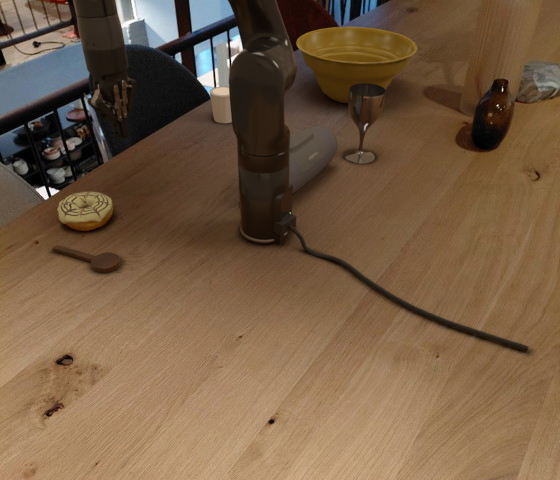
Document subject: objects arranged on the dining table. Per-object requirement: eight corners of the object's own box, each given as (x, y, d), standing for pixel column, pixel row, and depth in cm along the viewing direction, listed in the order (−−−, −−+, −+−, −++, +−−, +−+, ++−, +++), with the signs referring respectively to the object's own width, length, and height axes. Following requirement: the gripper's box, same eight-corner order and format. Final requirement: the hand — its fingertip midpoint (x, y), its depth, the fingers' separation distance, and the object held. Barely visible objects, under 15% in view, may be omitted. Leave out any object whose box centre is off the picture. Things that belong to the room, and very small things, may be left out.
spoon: (126, 260, 104) (125, 256, 103) (110, 275, 101) (108, 271, 100) (63, 243, 108) (62, 238, 107) (46, 257, 105) (44, 252, 104)
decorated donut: (55, 234, 110) (50, 216, 107) (67, 205, 117) (62, 188, 115) (110, 232, 110) (106, 215, 108) (117, 204, 118) (114, 187, 115)
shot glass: (234, 125, 146) (232, 97, 141) (208, 122, 147) (206, 94, 142) (240, 114, 151) (239, 87, 146) (215, 112, 152) (213, 84, 147)
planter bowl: (333, 67, 177) (337, 18, 167) (428, 91, 164) (437, 39, 154) (272, 99, 159) (272, 45, 149) (373, 128, 146) (380, 71, 136)
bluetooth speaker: (248, 153, 113) (249, 199, 120) (288, 165, 110) (287, 211, 117) (304, 114, 126) (302, 158, 134) (341, 124, 123) (338, 168, 130)
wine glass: (338, 160, 133) (344, 93, 122) (348, 146, 138) (355, 81, 127) (371, 166, 131) (380, 99, 120) (380, 152, 136) (389, 86, 125)
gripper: (97, 55, 97) (118, 154, 109) (141, 34, 105) (156, 128, 117) (62, 49, 99) (86, 147, 111) (107, 29, 107) (125, 122, 120)
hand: (122, 137), depth 114 cm, fingers closed
